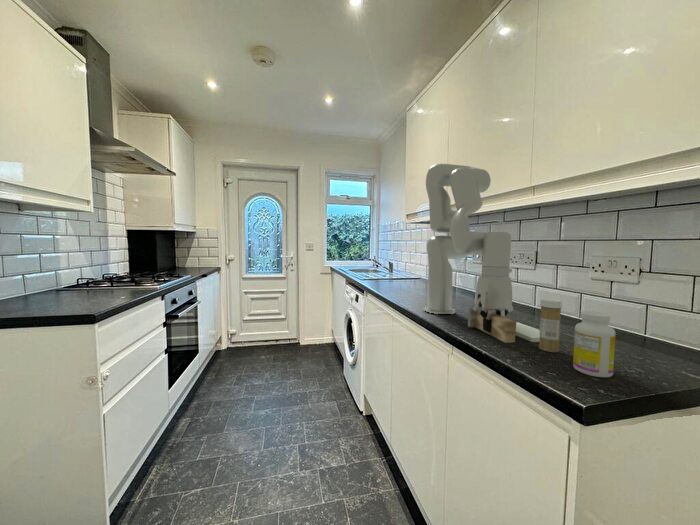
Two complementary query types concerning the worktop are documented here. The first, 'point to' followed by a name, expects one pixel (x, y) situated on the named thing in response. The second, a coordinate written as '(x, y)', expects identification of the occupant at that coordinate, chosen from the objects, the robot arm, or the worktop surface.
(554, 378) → the worktop surface
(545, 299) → the sprinkles bottle
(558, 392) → the worktop surface
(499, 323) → the light brown wooden block
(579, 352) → the supplement bottle
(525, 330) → the board
